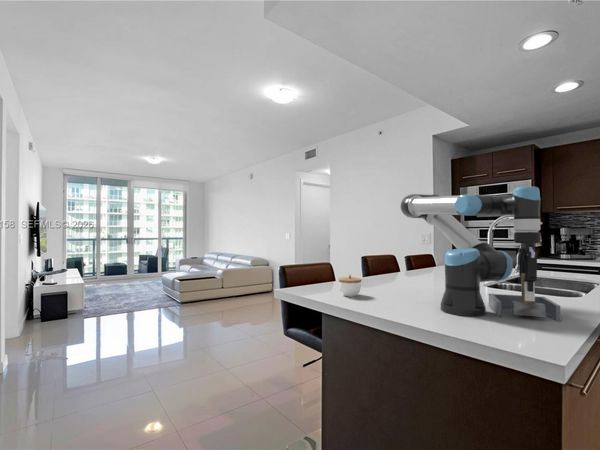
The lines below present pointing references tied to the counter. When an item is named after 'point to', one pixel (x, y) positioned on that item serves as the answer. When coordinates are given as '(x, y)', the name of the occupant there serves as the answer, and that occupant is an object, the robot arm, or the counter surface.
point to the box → (506, 301)
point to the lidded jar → (350, 285)
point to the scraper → (528, 305)
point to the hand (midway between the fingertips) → (528, 299)
